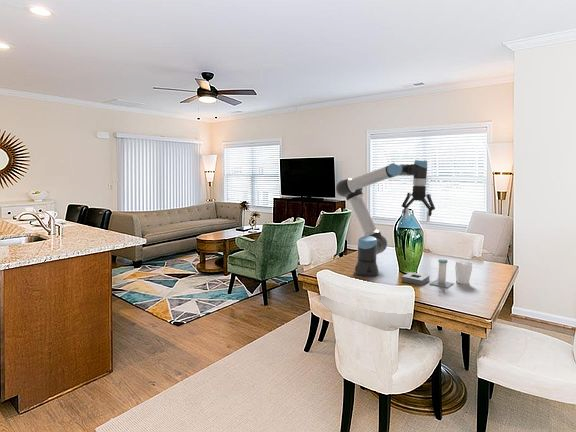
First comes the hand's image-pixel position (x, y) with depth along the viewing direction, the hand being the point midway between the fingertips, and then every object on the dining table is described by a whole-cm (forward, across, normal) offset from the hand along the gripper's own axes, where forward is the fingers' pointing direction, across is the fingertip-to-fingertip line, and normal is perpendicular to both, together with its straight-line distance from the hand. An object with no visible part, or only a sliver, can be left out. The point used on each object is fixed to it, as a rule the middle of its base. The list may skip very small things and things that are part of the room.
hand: (417, 219), depth 224 cm
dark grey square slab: (+36, +6, -9) cm, 37 cm away
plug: (+35, +19, -5) cm, 40 cm away
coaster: (+36, +19, -5) cm, 41 cm away
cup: (+36, +27, +7) cm, 45 cm away
